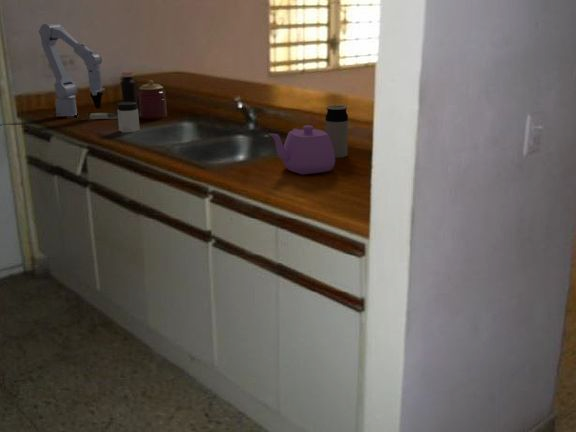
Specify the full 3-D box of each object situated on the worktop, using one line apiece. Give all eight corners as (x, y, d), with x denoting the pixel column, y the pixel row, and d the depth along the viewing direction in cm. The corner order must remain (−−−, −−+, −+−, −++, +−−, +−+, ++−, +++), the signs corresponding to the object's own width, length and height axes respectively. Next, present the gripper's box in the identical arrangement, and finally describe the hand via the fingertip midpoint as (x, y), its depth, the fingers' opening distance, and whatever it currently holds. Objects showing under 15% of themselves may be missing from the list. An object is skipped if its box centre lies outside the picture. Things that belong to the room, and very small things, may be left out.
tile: (108, 116, 329) (106, 118, 323) (91, 116, 328) (89, 119, 322) (108, 112, 328) (106, 115, 322) (91, 113, 327) (89, 115, 321)
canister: (152, 120, 318) (149, 82, 312) (134, 117, 326) (130, 80, 320) (172, 116, 328) (170, 79, 322) (154, 113, 335) (151, 77, 330)
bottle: (121, 113, 337) (117, 72, 331) (128, 111, 343) (124, 71, 337) (133, 114, 335) (129, 73, 329) (140, 111, 341) (136, 71, 335)
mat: (80, 120, 320) (80, 119, 320) (84, 115, 334) (84, 114, 333) (119, 119, 323) (119, 118, 323) (122, 113, 336) (121, 113, 336)
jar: (117, 130, 298) (114, 102, 294) (135, 127, 302) (132, 101, 298) (123, 133, 291) (121, 105, 287) (141, 131, 295) (139, 103, 291)
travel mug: (349, 157, 244) (350, 107, 238) (327, 158, 243) (328, 108, 237) (344, 152, 252) (345, 104, 246) (323, 153, 251) (323, 105, 245)
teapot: (314, 159, 243) (314, 117, 238) (342, 173, 225) (342, 128, 220) (255, 166, 235) (253, 123, 230) (278, 181, 216) (278, 135, 211)
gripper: (101, 81, 314) (104, 110, 318) (105, 77, 328) (108, 105, 332) (86, 81, 313) (89, 111, 318) (90, 77, 327) (93, 106, 331)
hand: (98, 108), depth 325 cm, fingers closed
